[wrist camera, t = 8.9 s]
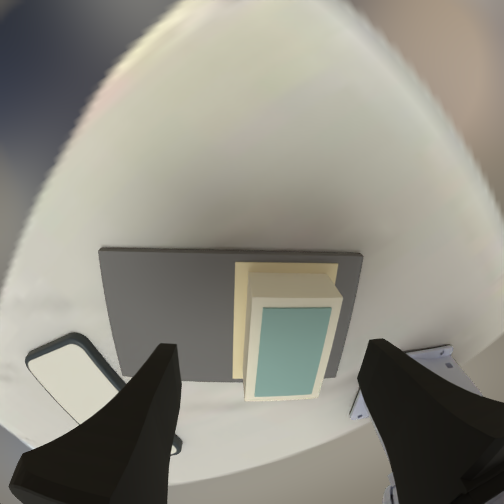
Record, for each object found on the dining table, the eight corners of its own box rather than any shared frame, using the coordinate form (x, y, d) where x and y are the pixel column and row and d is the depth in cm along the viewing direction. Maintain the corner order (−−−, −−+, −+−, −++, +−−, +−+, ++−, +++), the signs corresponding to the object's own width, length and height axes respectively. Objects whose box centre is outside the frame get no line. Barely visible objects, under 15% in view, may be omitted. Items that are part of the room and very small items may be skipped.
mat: (360, 253, 20) (364, 256, 19) (333, 372, 23) (335, 378, 23) (101, 247, 18) (97, 251, 18) (124, 371, 22) (122, 376, 21)
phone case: (26, 350, 22) (124, 453, 27) (18, 360, 20) (121, 463, 25) (84, 323, 21) (188, 441, 26) (77, 334, 19) (187, 453, 25)
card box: (308, 368, 22) (318, 399, 19) (242, 370, 22) (244, 402, 18) (326, 273, 19) (343, 298, 16) (248, 272, 19) (252, 298, 16)
